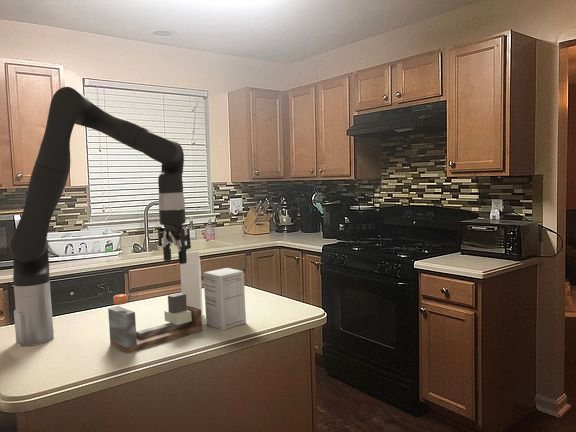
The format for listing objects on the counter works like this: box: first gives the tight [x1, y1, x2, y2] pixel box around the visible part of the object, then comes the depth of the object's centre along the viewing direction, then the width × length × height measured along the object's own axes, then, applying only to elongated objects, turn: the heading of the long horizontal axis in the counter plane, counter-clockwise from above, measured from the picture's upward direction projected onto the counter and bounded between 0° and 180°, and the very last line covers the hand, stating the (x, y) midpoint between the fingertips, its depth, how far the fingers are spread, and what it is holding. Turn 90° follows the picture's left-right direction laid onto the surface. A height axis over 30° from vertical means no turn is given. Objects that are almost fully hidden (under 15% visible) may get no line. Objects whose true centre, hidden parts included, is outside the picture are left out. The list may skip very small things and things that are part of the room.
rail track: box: [107, 305, 203, 354], centre depth 137 cm, size 24×10×10 cm, turn 135°
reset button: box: [113, 293, 128, 306], centre depth 129 cm, size 4×4×2 cm
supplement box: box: [203, 267, 247, 331], centre depth 148 cm, size 10×9×17 cm
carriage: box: [163, 292, 192, 325], centre depth 142 cm, size 5×7×8 cm
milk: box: [179, 251, 204, 319], centre depth 156 cm, size 6×6×22 cm
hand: (175, 262), depth 141 cm, fingers open, 8 cm apart
